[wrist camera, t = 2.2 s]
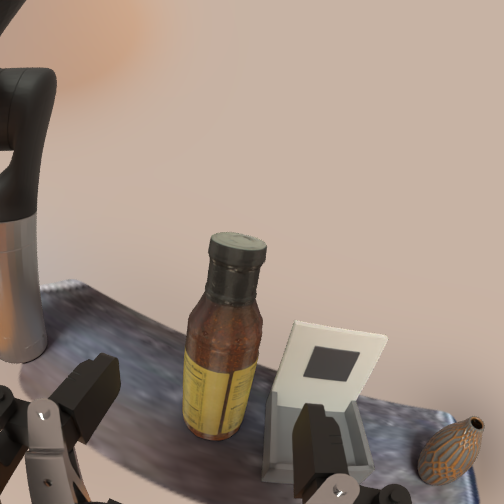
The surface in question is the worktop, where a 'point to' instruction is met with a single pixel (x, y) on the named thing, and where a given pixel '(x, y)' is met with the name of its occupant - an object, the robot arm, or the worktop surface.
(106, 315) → the worktop surface
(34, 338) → the robot arm
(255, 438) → the worktop surface
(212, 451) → the worktop surface
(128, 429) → the worktop surface
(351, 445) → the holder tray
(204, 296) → the sauce bottle
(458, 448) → the vase
